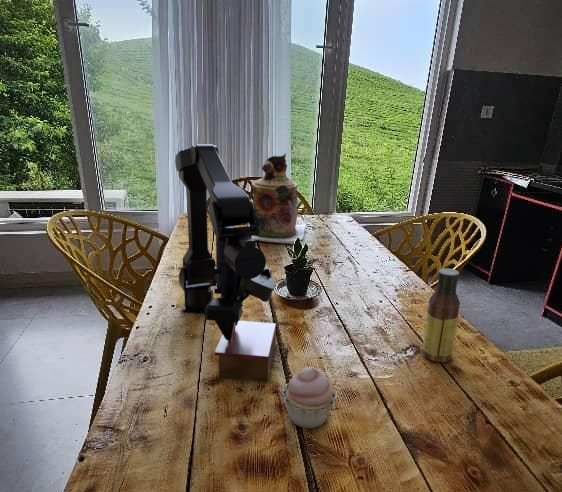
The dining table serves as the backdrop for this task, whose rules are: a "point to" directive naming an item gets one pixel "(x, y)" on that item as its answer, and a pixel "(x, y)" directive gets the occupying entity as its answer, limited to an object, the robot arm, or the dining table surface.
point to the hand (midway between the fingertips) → (231, 332)
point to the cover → (248, 341)
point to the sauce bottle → (442, 318)
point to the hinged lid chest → (246, 367)
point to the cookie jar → (276, 204)
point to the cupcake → (309, 398)
